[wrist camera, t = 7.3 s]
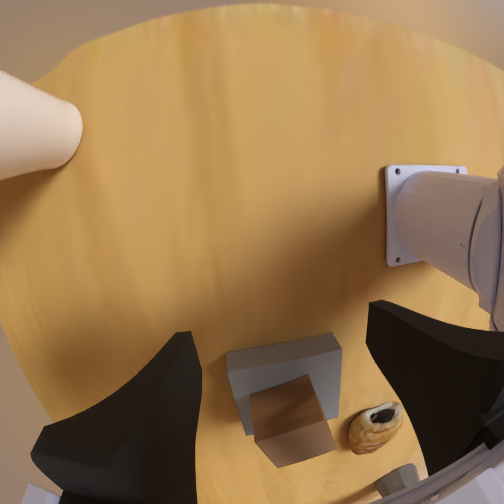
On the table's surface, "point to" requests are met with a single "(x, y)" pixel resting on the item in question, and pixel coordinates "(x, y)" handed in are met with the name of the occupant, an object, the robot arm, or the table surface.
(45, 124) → the drinking glass
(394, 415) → the pastry
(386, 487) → the coffeepot
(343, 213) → the table surface
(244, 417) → the block
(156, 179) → the table surface
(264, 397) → the walnut cube
